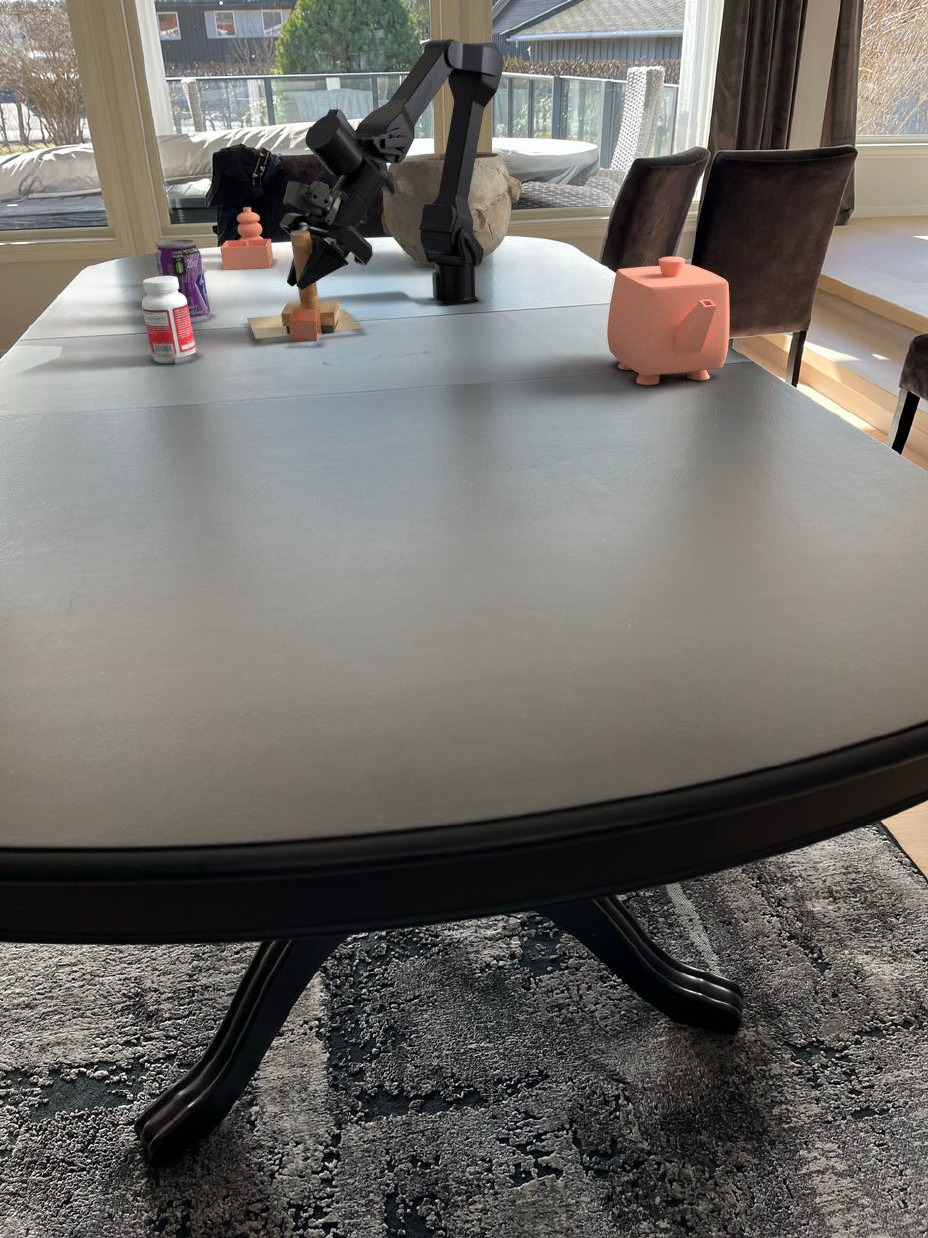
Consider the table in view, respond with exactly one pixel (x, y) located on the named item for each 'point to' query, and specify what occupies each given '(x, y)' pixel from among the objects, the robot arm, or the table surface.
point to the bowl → (421, 186)
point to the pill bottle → (167, 319)
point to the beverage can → (185, 272)
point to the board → (275, 328)
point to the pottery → (247, 245)
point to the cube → (305, 324)
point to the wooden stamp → (309, 287)
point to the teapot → (669, 320)
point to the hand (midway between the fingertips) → (294, 285)
